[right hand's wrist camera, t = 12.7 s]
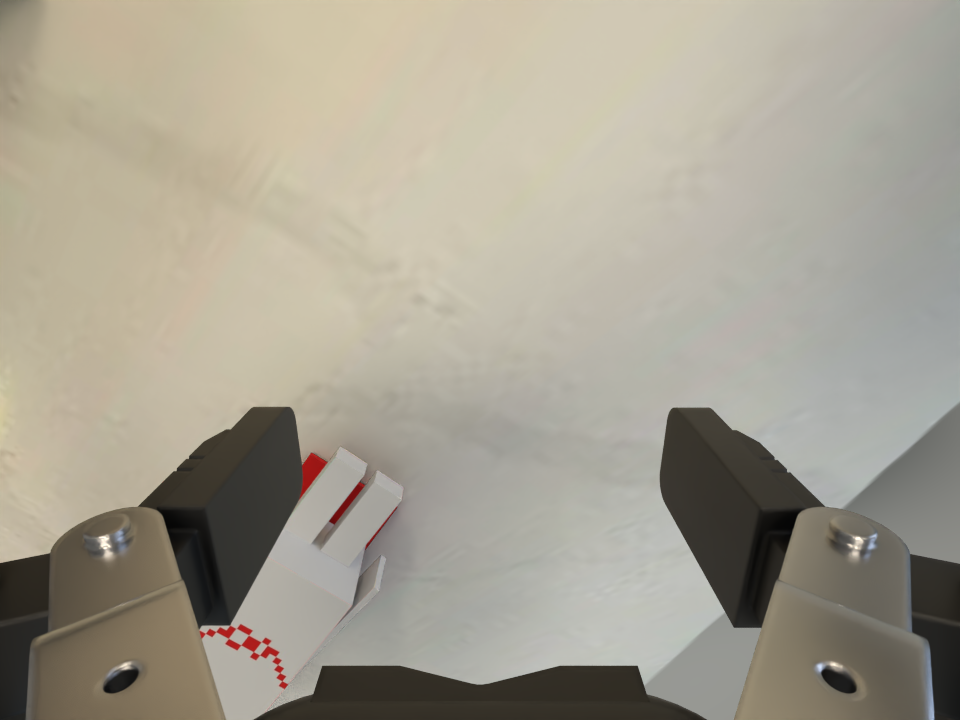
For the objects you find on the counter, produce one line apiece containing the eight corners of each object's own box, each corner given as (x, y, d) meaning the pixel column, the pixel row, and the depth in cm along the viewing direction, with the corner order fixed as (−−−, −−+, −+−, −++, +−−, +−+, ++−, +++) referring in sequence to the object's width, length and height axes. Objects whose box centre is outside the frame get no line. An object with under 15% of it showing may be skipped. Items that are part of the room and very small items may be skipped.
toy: (428, 550, 38) (205, 821, 42) (430, 469, 51) (260, 682, 55) (284, 460, 35) (62, 757, 39) (325, 399, 48) (155, 628, 52)
